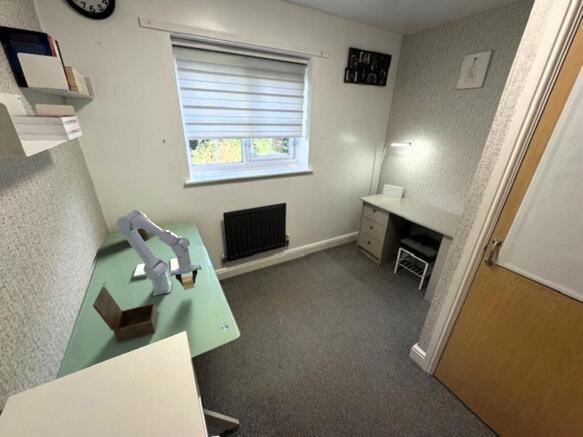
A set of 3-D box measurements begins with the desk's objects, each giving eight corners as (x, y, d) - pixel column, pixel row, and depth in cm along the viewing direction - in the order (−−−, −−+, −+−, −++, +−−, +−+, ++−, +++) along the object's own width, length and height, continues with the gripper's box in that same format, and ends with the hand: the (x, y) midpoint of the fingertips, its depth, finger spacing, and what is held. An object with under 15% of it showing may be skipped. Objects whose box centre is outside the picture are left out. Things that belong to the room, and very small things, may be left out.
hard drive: (149, 273, 135) (152, 261, 146) (132, 276, 132) (137, 264, 143) (149, 275, 136) (153, 263, 146) (133, 278, 133) (137, 266, 144)
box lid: (104, 285, 97) (102, 286, 96) (94, 305, 87) (92, 305, 87) (121, 309, 103) (119, 310, 103) (114, 330, 93) (111, 331, 93)
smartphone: (182, 256, 153) (183, 268, 141) (182, 256, 153) (183, 269, 141) (170, 258, 150) (170, 271, 138) (170, 259, 150) (170, 272, 138)
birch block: (184, 284, 124) (182, 276, 122) (194, 281, 125) (192, 274, 123) (183, 290, 119) (182, 282, 117) (194, 287, 121) (192, 279, 119)
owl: (147, 240, 173) (140, 215, 165) (132, 239, 175) (124, 214, 166) (158, 232, 184) (152, 209, 176) (143, 231, 186) (137, 208, 178)
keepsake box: (158, 313, 110) (154, 302, 108) (154, 332, 100) (151, 321, 98) (124, 321, 106) (120, 311, 103) (118, 342, 96) (113, 331, 93)
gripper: (199, 254, 122) (202, 275, 128) (168, 260, 117) (173, 282, 122) (200, 261, 116) (204, 283, 122) (167, 268, 111) (173, 291, 116)
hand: (188, 283), depth 122 cm, fingers closed on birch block, 5 cm apart
